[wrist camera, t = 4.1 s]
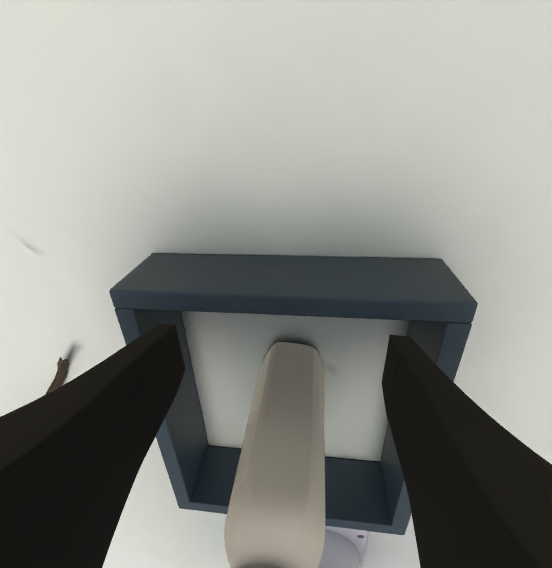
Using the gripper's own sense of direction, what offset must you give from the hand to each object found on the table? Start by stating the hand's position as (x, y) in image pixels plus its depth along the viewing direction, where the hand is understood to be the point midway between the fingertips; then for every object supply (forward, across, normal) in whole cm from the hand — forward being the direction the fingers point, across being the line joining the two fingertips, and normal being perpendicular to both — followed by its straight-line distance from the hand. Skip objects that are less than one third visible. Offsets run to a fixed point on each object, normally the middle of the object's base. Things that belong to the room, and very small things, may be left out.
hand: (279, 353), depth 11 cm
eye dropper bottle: (+5, 0, +6) cm, 7 cm away
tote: (+4, 0, +6) cm, 7 cm away
